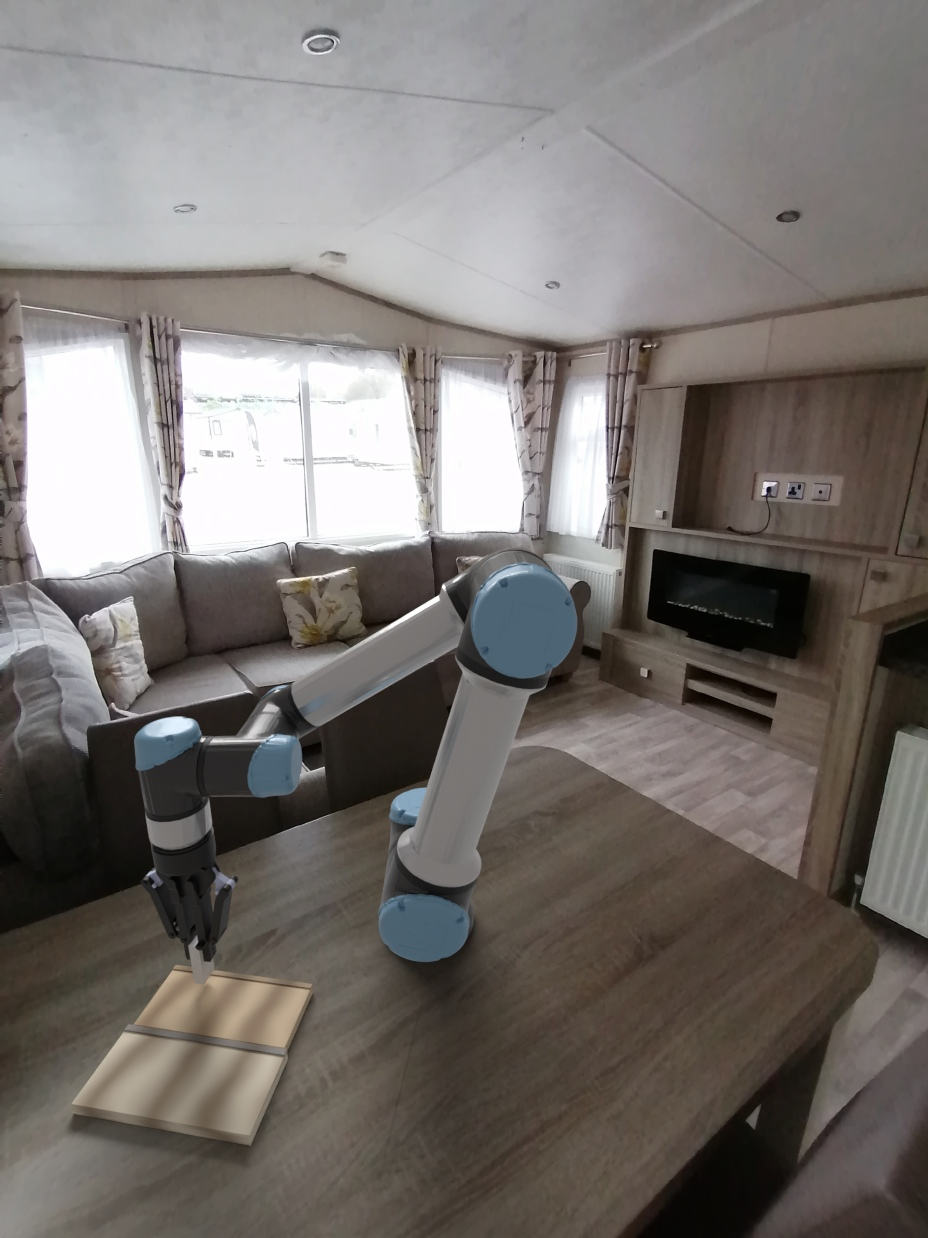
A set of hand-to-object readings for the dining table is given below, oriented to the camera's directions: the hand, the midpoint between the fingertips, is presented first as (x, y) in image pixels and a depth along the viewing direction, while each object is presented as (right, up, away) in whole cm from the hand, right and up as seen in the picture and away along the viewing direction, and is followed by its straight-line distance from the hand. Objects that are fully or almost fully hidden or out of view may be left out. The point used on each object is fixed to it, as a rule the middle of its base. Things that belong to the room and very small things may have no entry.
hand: (204, 975), depth 86 cm
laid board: (+3, -7, -12) cm, 14 cm away
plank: (+4, -4, -2) cm, 6 cm away
